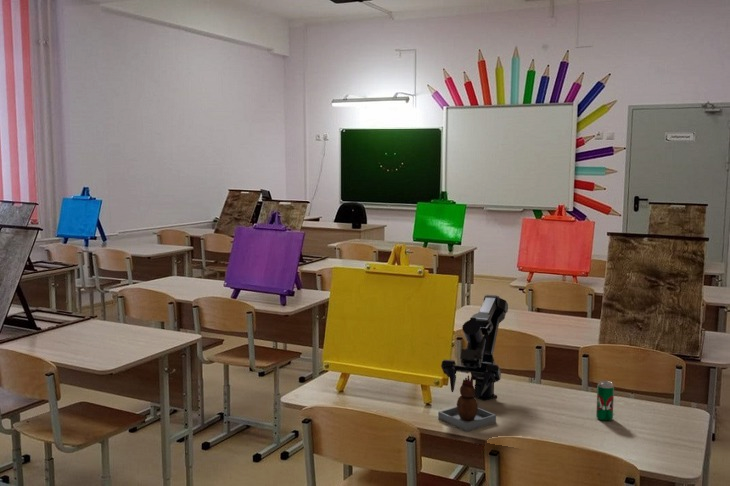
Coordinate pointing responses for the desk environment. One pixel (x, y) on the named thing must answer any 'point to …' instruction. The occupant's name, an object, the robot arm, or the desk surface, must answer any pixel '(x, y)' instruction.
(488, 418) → the tray
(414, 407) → the desk surface
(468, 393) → the wooden figurine
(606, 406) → the soda can
